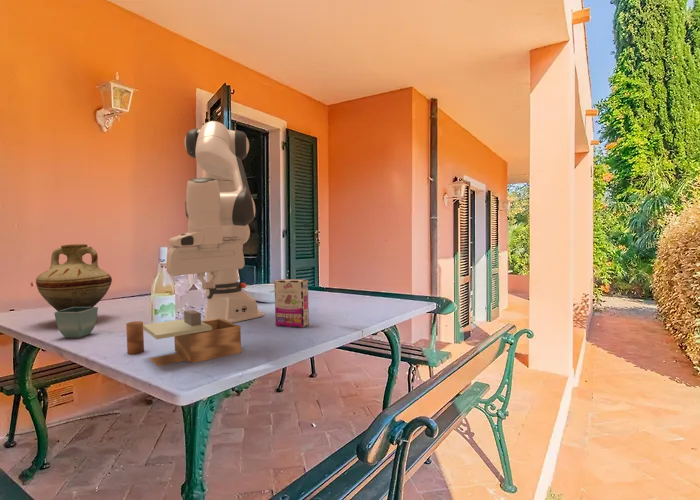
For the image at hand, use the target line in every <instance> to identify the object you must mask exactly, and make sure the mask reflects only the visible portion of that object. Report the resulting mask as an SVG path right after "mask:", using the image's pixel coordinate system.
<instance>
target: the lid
mask: <svg viewBox="0 0 700 500" xmlns="http://www.w3.org/2000/svg"><path fill="white" fill-rule="evenodd" d="M183 313H184V314H183V315H184V317H183V319H175V320H169V321H163V322H161V321H160V322H155V323H154V322H153V323H148V324H143V331H145V332H146V333H147V334H149V335H150V336H151V337H153V338H154V339H155V340H161V339H162V340H163V339H168V338H172V337H174V336H180V335H186V334H192V333H198V332H204V331H210V330H212V326H210V325H208V324H206V323H204V322H202V321H203V320H202V313H201V312H199V311H197V310H195V309H189V310H188V309H187V310H184V311H183ZM174 338H175V337H174Z"/></svg>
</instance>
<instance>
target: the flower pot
mask: <svg viewBox="0 0 700 500" xmlns="http://www.w3.org/2000/svg"><path fill="white" fill-rule="evenodd" d="M98 311H99V306H94V307H72V308H68V309H64V310H61V311H57V310H56V311H54V317H55V324H56V326H57V329H58V331H59V332H60V333H61V335H62V336H63V337H64V338H65V339H66V338H67V339H69V338H72V339H73V338H75V339H76V338H78V339H79V338H83V337H85V336H88V335H91V333H92V332H93V330H94V329H95V326H96V323H97V320H98Z"/></svg>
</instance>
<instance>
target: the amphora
mask: <svg viewBox="0 0 700 500" xmlns="http://www.w3.org/2000/svg"><path fill="white" fill-rule="evenodd" d="M52 251H53V252H52V253H51V257H50V265H49V269H48V270H46V271H44V272H42V273H40V274H39V275H37V276H36V278H35V284H36V285H35V286H36V288H37V291H38V293H39V294H40V296H41V297H42V298H43V299H44V300H45V301H46V302H47V303H48V304H49V305H50V306H51V307H52V308H53V309H54V310H55V311H56V312H57V311H61V310H64V309H68V308H72V307H96V305H97V304H98V303H99V302H100V301H101V300H102V299H103V298H104V297H105V296H106V295H107V293H108V291H109V289H110V287H111V285H112V281H113V278H112V276H111V275H110V273H108V272H107V271H105V270H103V269H101V268H100V267H99V263H98V262H99V261H98V257H99V256H98V252H97V250H96V248H93V247H92V246H88V244H87V243H86V244H85V243H78V244H77V243H76V244H73V243H72V244H64V245H61V246H60V247H59V248H56V249H54V250H52ZM87 254H90V256H91V257H90V258H91V261H90V262H91V263H90V264H89V263H86V262H85V261H83V256H85V255H87ZM60 255H64V256H66V261H65V262H64V263H61V264H60V262H59V261H60V260H59V259H60Z"/></svg>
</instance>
